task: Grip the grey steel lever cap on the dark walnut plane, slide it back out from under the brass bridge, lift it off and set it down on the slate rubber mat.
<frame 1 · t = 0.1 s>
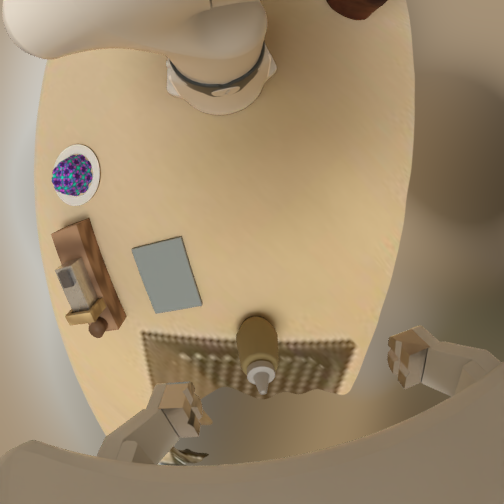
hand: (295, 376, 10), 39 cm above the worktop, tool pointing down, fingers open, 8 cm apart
rubber mat: (167, 276, 50), on the worktop
wafer roll: (348, 4, 33), on the worktop
squeeze bottle: (255, 326, 55), on the worktop
plane body: (93, 273, 49), on the worktop
pudding: (77, 174, 43), on the worktop
lever cap: (83, 283, 44), point 5 cm above the worktop, touching plane body
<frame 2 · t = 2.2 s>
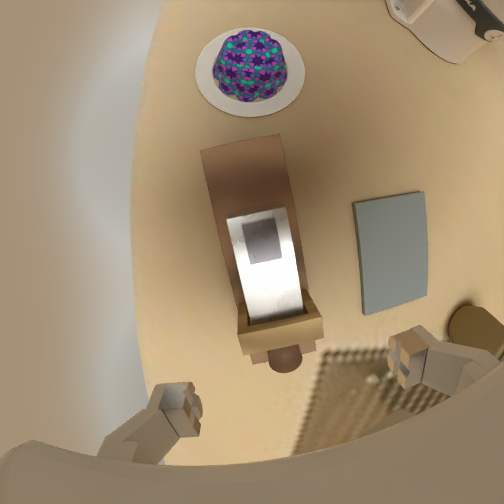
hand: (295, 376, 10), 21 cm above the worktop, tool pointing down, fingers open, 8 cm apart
rubber mat: (394, 253, 30), on the worktop
squeeze bottle: (458, 320, 34), on the worktop
plane body: (261, 249, 30), on the worktop
pudding: (250, 71, 25), on the worktop
lever cap: (265, 262, 25), point 5 cm above the worktop, touching plane body
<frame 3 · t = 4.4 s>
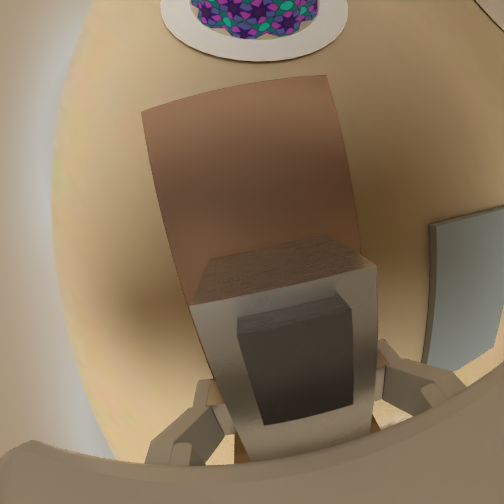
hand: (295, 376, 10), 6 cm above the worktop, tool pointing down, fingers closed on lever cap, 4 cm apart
rubber mat: (470, 297, 17), on the worktop
plane body: (276, 308, 16), on the worktop
lever cap: (290, 357, 11), point 5 cm above the worktop, touching gripper, plane body
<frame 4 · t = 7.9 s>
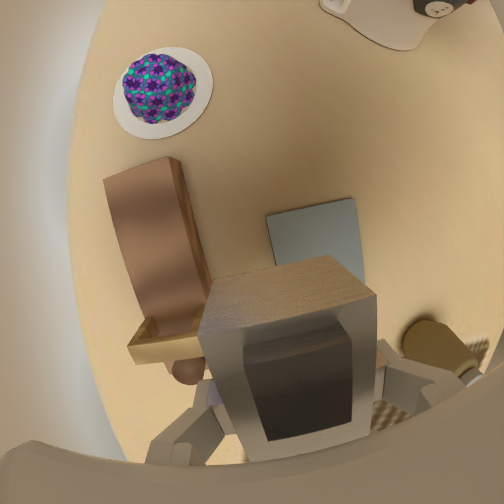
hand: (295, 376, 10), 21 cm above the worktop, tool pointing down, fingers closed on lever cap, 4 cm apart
rubber mat: (320, 266, 31), on the worktop
squeeze bottle: (416, 335, 34), on the worktop
plane body: (175, 265, 30), on the worktop
pudding: (162, 92, 26), on the worktop
lever cap: (292, 371, 11), point 19 cm above the worktop, touching gripper
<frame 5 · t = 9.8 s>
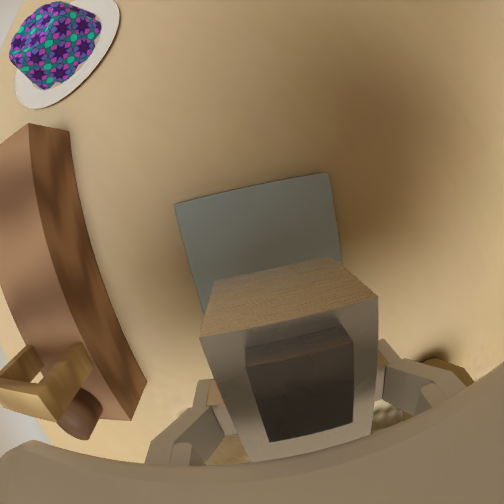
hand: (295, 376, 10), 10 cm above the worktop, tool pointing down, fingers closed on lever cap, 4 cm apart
rubber mat: (271, 286, 19), on the worktop
squeeze bottle: (420, 377, 23), on the worktop
plane body: (67, 276, 18), on the worktop
pudding: (65, 50, 14), on the worktop
lever cap: (293, 372, 11), point 8 cm above the worktop, touching gripper
when the fingers open (3 cm above the worktop, at t = 11.4 s): lever cap stays where it is, resting on rubber mat.
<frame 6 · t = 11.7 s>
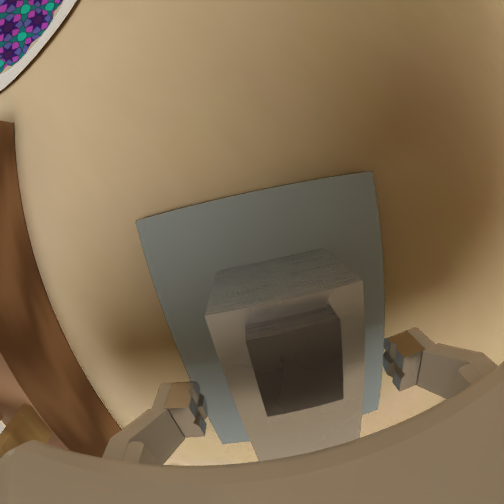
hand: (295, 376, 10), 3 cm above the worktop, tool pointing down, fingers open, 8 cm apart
rubber mat: (284, 337, 13), on the worktop
plane body: (19, 309, 12), on the worktop
pudding: (24, 27, 8), on the worktop
lever cap: (289, 358, 12), point 1 cm above the worktop, touching rubber mat
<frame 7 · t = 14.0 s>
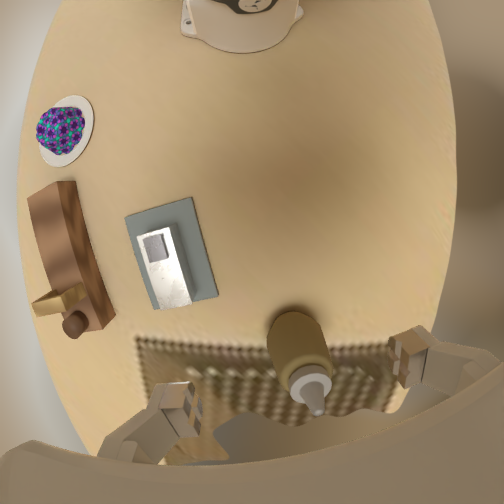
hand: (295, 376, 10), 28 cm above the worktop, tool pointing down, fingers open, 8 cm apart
rubber mat: (171, 255, 37), on the worktop
squeeze bottle: (290, 327, 40), on the worktop
plane body: (76, 255, 36), on the worktop
pudding: (67, 131, 32), on the worktop
lever cap: (171, 262, 36), point 1 cm above the worktop, touching rubber mat
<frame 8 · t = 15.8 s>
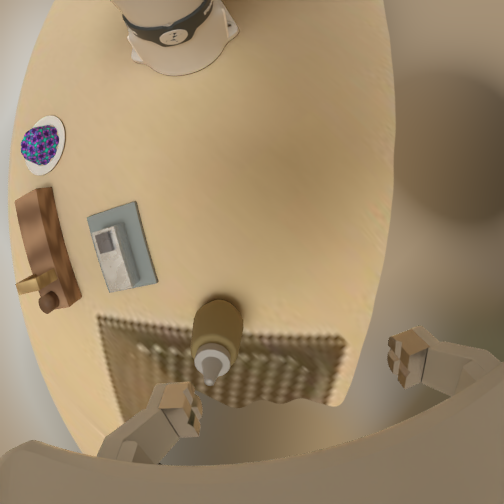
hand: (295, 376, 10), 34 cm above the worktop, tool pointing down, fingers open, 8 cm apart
rubber mat: (121, 248, 43), on the worktop
squeeze bottle: (220, 313, 46), on the worktop
plane body: (52, 246, 42), on the worktop
pudding: (45, 145, 38), on the worktop
lever cap: (121, 254, 42), point 1 cm above the worktop, touching rubber mat
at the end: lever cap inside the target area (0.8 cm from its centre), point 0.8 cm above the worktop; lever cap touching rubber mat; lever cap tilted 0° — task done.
